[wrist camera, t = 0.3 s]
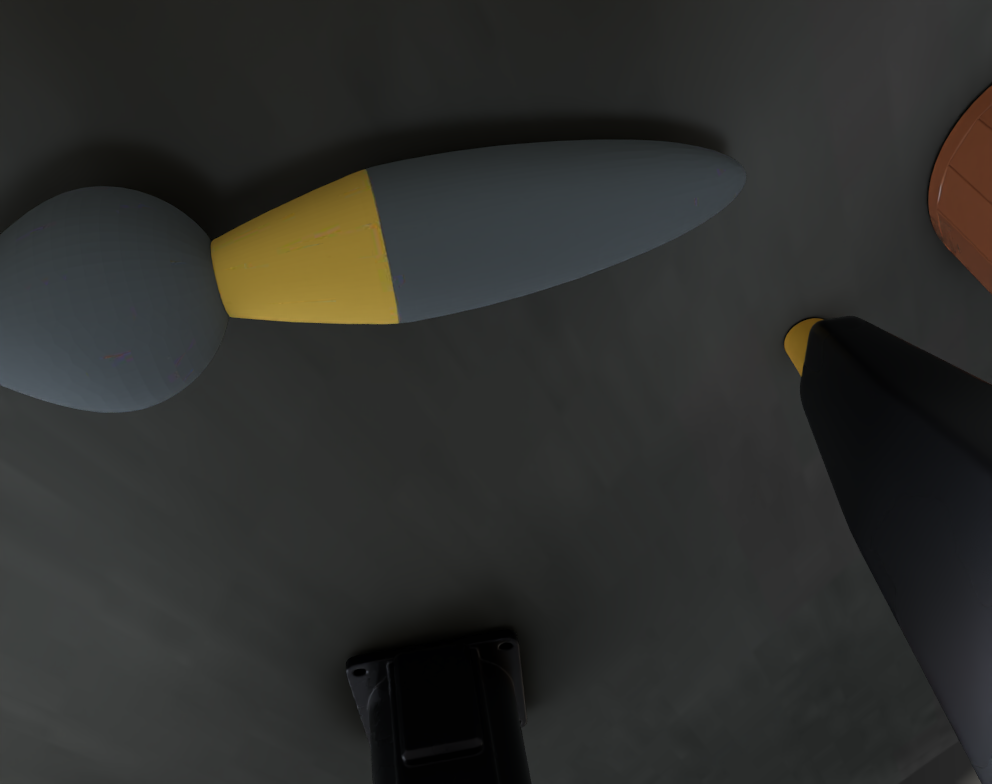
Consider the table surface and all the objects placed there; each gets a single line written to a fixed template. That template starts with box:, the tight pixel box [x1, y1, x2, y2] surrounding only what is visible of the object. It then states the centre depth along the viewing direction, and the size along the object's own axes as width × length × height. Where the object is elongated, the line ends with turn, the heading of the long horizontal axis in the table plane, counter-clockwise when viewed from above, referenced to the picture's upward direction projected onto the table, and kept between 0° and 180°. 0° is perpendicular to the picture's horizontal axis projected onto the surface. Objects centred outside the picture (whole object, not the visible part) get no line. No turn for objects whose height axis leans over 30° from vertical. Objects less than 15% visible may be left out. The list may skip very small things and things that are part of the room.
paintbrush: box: [0, 140, 746, 413], centre depth 21 cm, size 20×5×5 cm, turn 100°
